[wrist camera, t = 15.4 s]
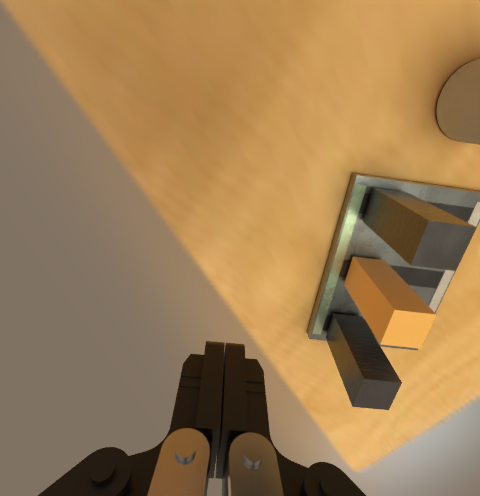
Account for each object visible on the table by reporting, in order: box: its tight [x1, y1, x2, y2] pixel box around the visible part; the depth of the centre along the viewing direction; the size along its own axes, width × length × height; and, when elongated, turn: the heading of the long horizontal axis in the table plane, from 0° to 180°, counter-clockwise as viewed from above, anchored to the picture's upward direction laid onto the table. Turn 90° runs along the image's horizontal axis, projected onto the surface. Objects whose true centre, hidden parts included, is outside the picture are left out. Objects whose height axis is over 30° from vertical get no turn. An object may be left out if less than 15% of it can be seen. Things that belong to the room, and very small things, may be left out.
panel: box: [307, 173, 480, 410], centre depth 35 cm, size 23×16×13 cm
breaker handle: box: [344, 256, 437, 349], centre depth 34 cm, size 4×4×11 cm
